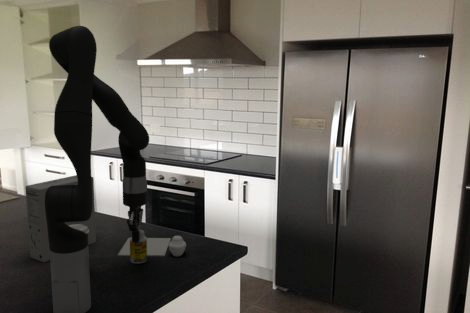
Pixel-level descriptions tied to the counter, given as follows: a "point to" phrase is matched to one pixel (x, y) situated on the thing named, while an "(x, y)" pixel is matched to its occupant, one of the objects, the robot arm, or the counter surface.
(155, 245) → the topple mat
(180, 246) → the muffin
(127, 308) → the counter surface
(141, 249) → the supplement bottle
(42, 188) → the cereal box
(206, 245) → the counter surface
